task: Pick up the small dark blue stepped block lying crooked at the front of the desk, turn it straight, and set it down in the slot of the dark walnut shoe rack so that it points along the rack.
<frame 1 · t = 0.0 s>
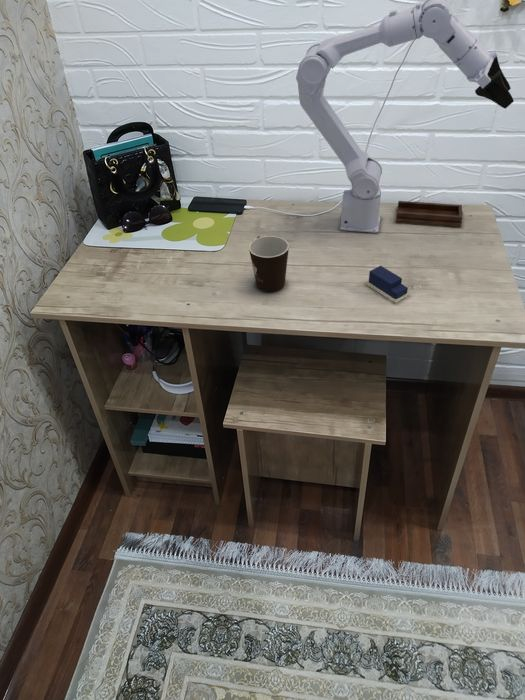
hand: (507, 98, 119), 32 cm above the table, tool tilted 50°, fingers open, 7 cm apart
dark blue stepped block: (386, 290, 125), on the table
coffee mug: (271, 281, 130), on the table
shoe rack: (428, 217, 148), on the table
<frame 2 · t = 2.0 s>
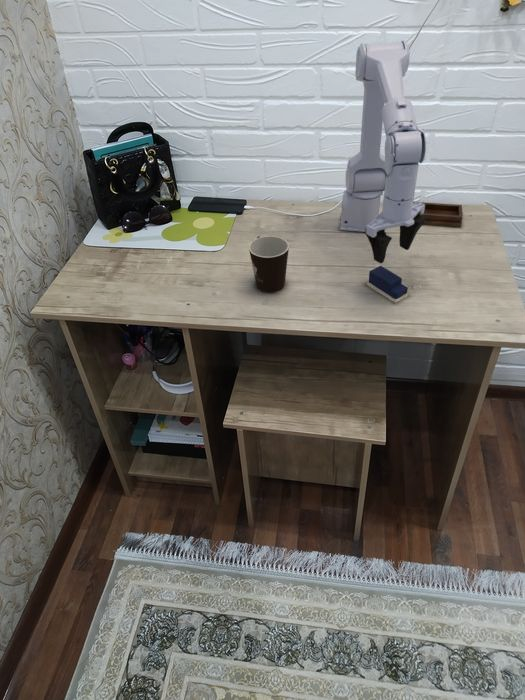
hand: (391, 254, 119), 9 cm above the table, tool pointing down, fingers open, 7 cm apart
nothing on the table moved.
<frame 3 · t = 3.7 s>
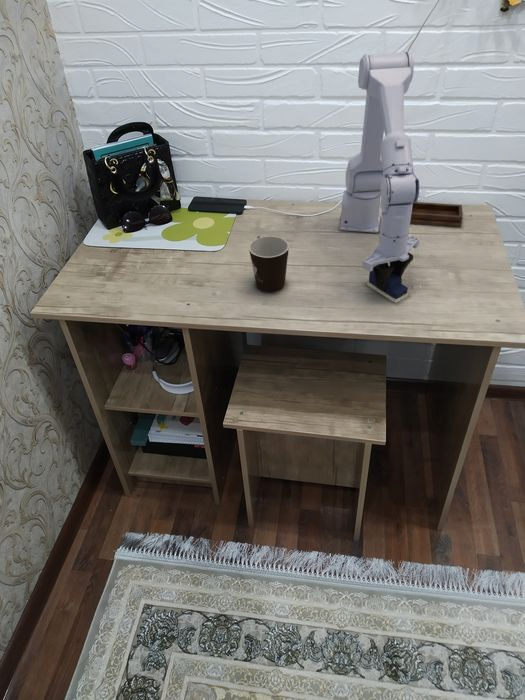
hand: (387, 285, 124), 1 cm above the table, tool pointing down, fingers closed on dark blue stepped block, 3 cm apart
dark blue stepped block: (387, 290, 125), on the table, touching gripper
everything else where it was.
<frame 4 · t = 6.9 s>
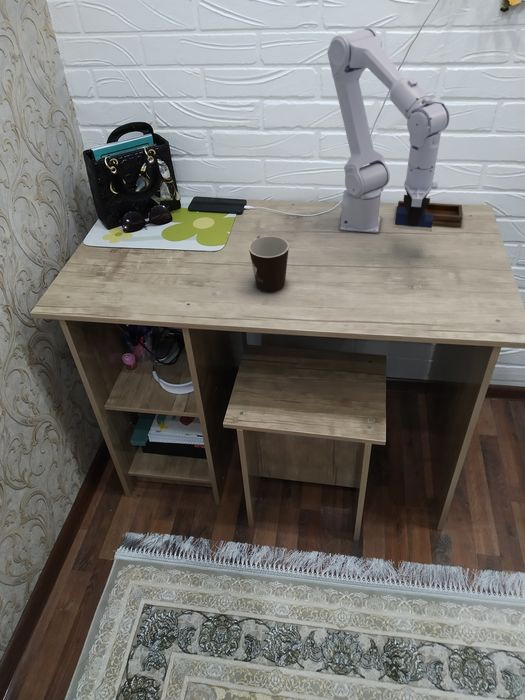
hand: (413, 220, 131), 8 cm above the table, tool pointing down, fingers closed on dark blue stepped block, 3 cm apart
dark blue stepped block: (412, 225, 132), point 7 cm above the table, touching gripper
everything else where it was.
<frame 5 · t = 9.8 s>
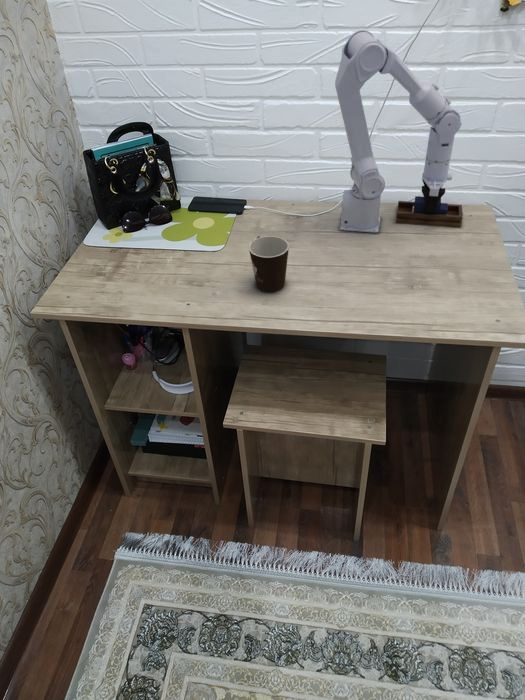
hand: (429, 208, 146), 2 cm above the table, tool pointing down, fingers closed on dark blue stepped block, 3 cm apart
dark blue stepped block: (429, 213, 147), point 1 cm above the table, touching gripper
everything else where it was.
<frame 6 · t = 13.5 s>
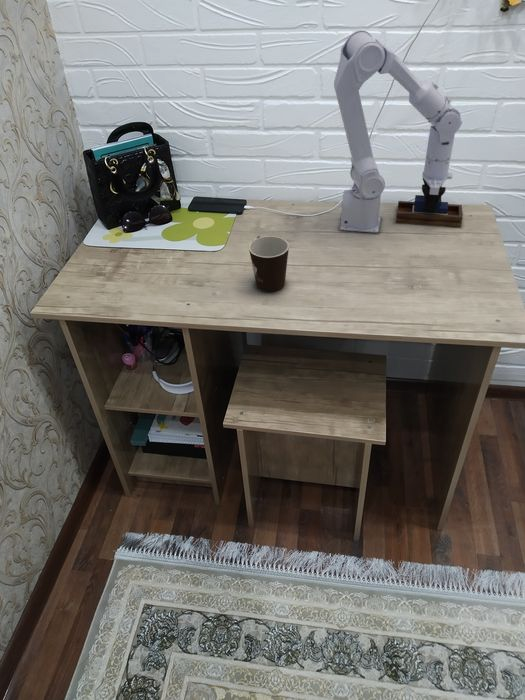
hand: (429, 207, 146), 3 cm above the table, tool pointing down, fingers closed on dark blue stepped block, 3 cm apart
dark blue stepped block: (429, 212, 147), point 1 cm above the table, touching gripper
everything else where it was.
when the fingers open (4 cm above the table, at t = 16.7 s): dark blue stepped block drops 2 cm, resting on shoe rack.
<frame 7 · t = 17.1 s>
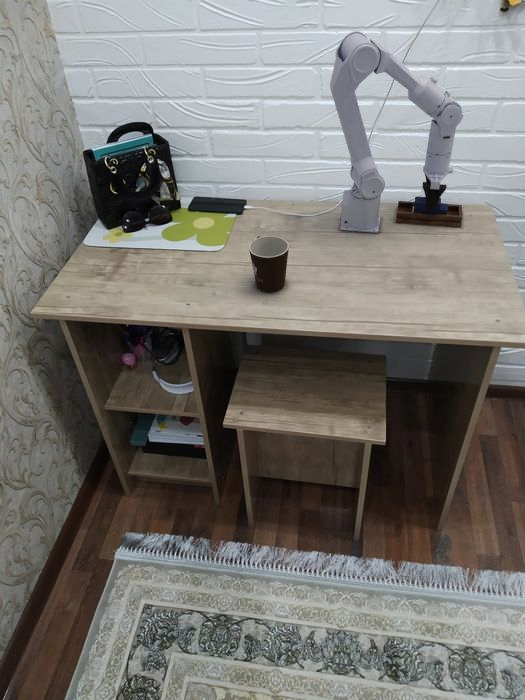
hand: (430, 202, 145), 4 cm above the table, tool pointing down, fingers open, 6 cm apart
dark blue stepped block: (429, 214, 147), point 1 cm above the table, touching shoe rack
everything else where it was.
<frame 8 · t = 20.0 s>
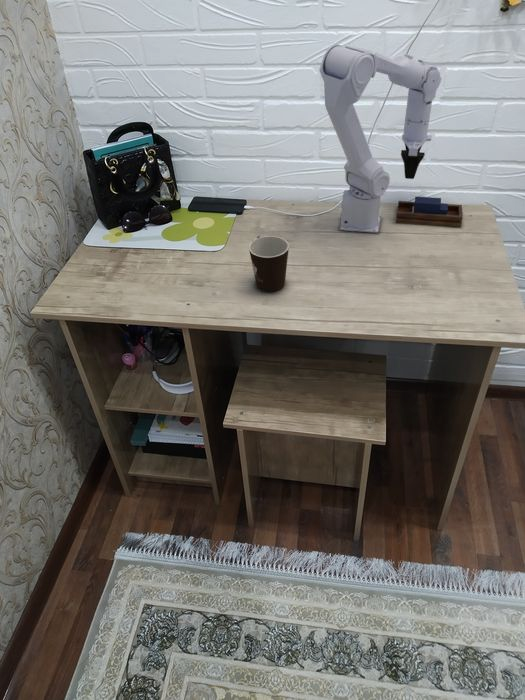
hand: (410, 171, 147), 9 cm above the table, tool pointing down, fingers open, 7 cm apart
nothing on the table moved.
at the end: dark blue stepped block inside the target area on the shoe rack (0.2 cm from its centre), point 1.0 cm above the shoe rack's base; dark blue stepped block tilted 0°; the gripper is holding nothing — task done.
